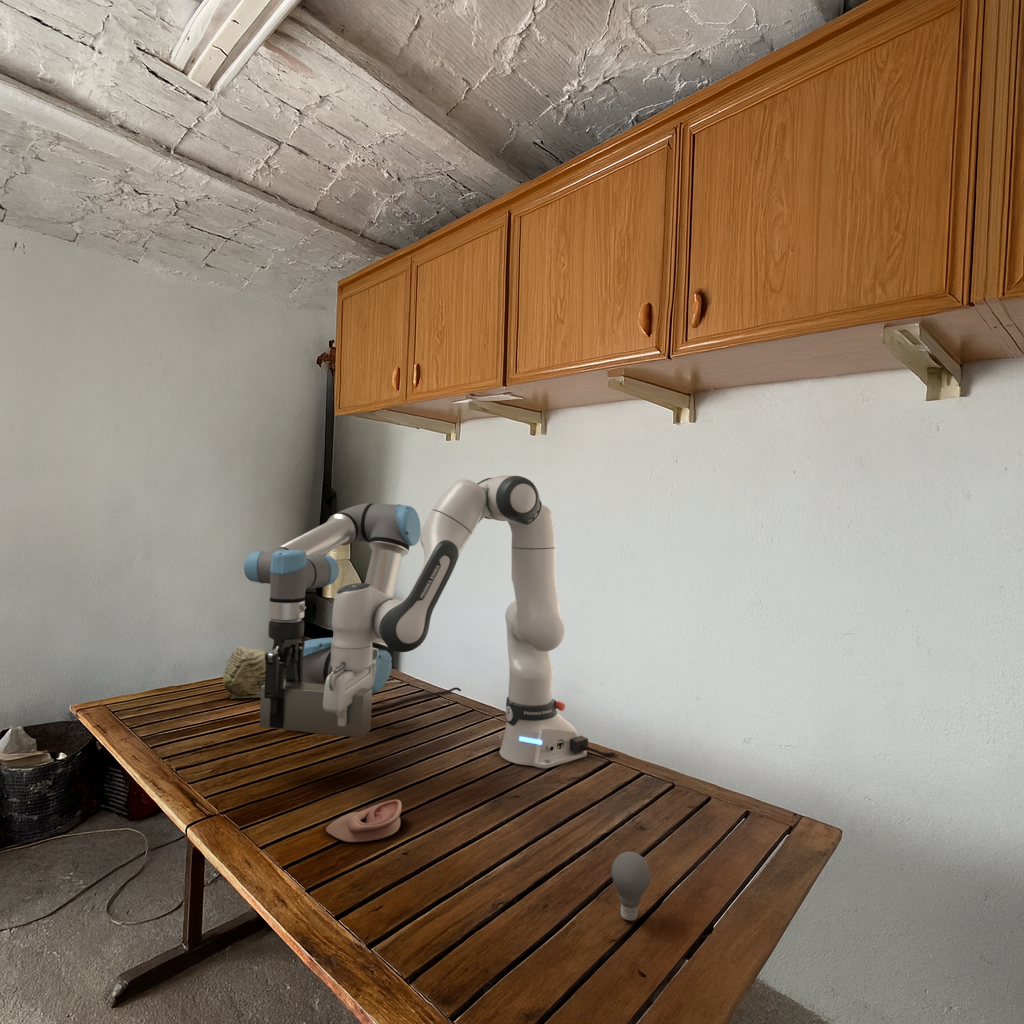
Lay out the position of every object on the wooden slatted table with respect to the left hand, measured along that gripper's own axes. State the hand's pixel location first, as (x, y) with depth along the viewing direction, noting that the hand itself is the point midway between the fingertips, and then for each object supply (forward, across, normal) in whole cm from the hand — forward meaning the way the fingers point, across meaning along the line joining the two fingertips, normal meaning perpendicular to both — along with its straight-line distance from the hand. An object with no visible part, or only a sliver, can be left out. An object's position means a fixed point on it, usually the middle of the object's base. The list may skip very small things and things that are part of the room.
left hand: (282, 722), depth 142 cm
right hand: (-2, 0, -16) cm, 16 cm away
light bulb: (+12, -33, -76) cm, 84 cm away
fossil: (+12, +51, +37) cm, 64 cm away
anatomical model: (+12, -17, -26) cm, 34 cm away
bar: (+1, 0, -8) cm, 8 cm away
